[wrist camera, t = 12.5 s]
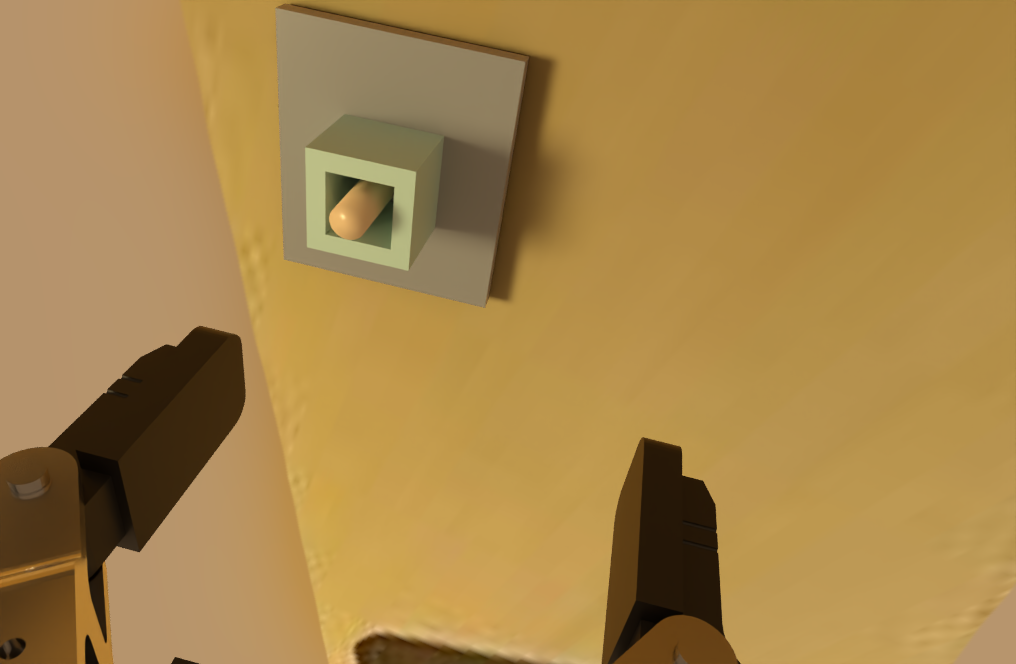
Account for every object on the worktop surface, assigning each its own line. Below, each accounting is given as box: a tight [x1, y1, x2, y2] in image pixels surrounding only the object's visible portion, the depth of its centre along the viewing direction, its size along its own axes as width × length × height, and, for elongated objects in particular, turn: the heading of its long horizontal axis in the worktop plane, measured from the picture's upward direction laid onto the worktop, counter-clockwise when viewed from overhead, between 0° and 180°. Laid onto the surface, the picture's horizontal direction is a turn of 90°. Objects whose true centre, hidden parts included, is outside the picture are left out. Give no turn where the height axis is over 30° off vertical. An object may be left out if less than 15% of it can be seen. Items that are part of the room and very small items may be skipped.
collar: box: [305, 114, 444, 271], centre depth 41 cm, size 6×6×6 cm
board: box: [276, 4, 529, 308], centre depth 41 cm, size 16×14×8 cm
